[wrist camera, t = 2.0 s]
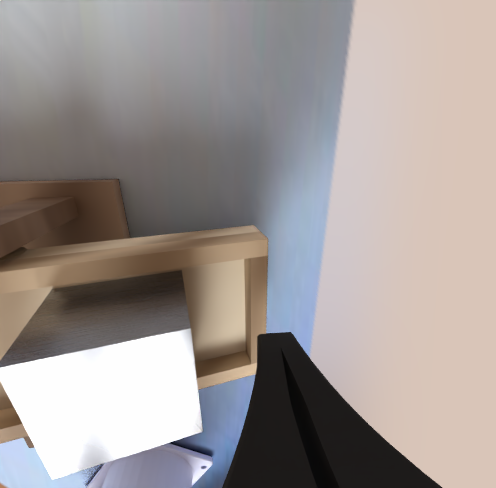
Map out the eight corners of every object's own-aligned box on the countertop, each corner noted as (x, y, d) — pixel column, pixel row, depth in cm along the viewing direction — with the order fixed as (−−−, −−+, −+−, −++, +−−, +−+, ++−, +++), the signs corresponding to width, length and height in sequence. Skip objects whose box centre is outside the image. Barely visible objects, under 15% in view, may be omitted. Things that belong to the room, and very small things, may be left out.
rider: (181, 270, 12) (190, 328, 8) (191, 354, 13) (203, 432, 10) (51, 288, 10) (-6, 369, 7) (84, 380, 12) (52, 479, 9)
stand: (118, 179, 13) (42, 208, 8) (153, 353, 18) (120, 449, 13) (-4, 181, 13) (-174, 214, 8) (63, 359, 18) (-11, 460, 12)
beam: (250, 222, 13) (268, 238, 11) (251, 340, 16) (264, 371, 14) (-394, 289, 8) (-608, 347, 6) (-213, 449, 11) (-308, 527, 9)
